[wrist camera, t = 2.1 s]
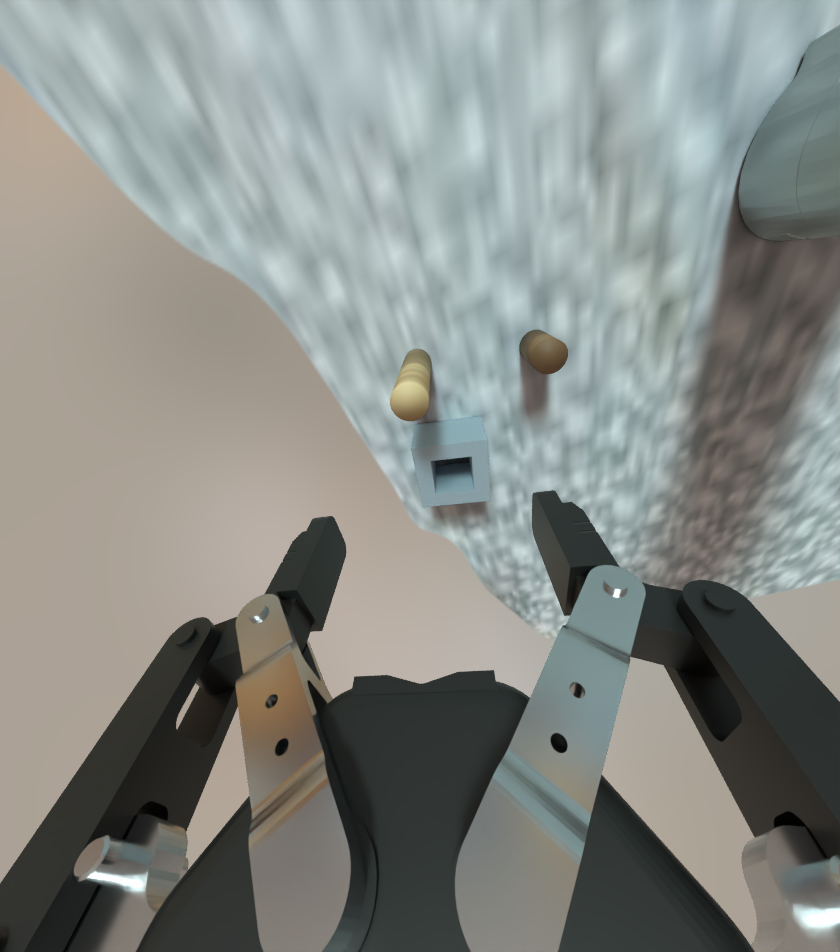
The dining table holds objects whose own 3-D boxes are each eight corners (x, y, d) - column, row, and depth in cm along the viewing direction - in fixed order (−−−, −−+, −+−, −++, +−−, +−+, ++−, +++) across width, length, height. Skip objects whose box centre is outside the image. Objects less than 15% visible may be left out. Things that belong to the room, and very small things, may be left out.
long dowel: (401, 351, 27) (386, 386, 18) (429, 346, 26) (425, 380, 18) (406, 378, 28) (394, 423, 20) (432, 375, 28) (431, 418, 19)
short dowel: (519, 332, 25) (534, 342, 22) (549, 327, 25) (569, 336, 21) (519, 362, 27) (532, 376, 23) (547, 357, 26) (566, 371, 23)
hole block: (414, 424, 30) (411, 448, 26) (480, 416, 29) (488, 439, 25) (424, 478, 34) (422, 507, 30) (483, 472, 33) (490, 500, 29)
